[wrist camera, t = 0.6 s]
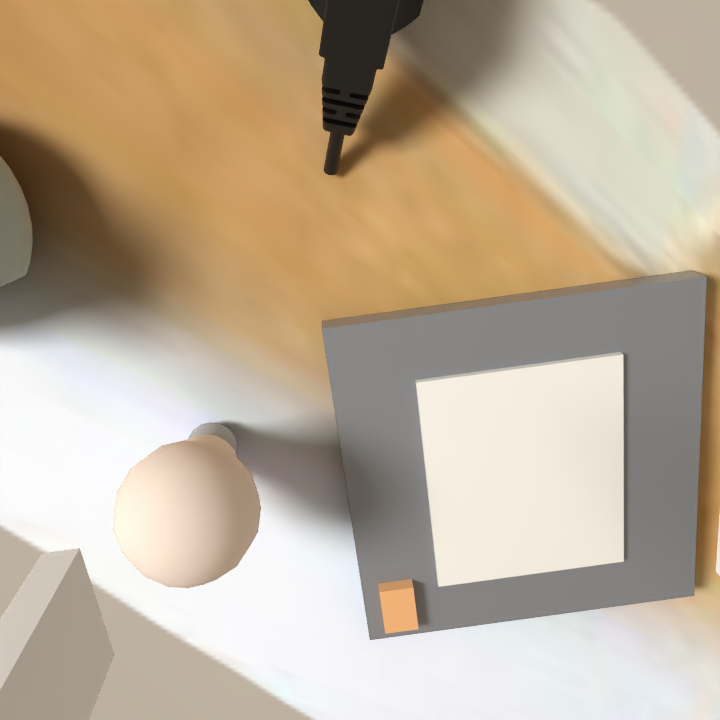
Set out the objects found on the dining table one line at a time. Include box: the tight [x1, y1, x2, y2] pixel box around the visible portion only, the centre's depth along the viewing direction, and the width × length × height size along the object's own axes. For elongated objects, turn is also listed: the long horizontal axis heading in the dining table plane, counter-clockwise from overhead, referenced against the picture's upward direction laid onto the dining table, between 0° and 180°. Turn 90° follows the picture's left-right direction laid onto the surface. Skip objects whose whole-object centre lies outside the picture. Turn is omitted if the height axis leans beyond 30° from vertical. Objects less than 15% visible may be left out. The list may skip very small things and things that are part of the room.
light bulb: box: [113, 423, 261, 588], centre depth 33 cm, size 7×7×11 cm
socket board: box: [322, 271, 707, 640], centre depth 39 cm, size 20×20×2 cm
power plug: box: [308, 0, 423, 175], centre depth 30 cm, size 6×8×12 cm
